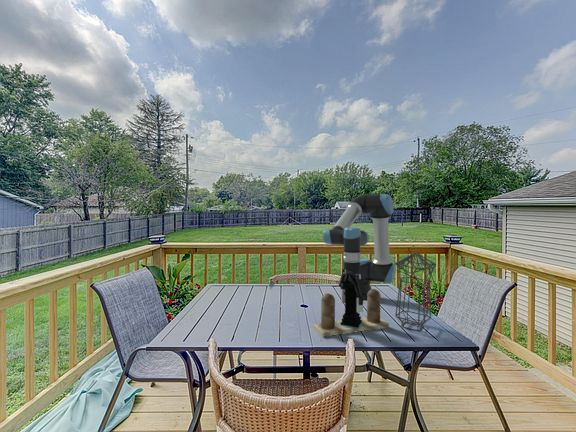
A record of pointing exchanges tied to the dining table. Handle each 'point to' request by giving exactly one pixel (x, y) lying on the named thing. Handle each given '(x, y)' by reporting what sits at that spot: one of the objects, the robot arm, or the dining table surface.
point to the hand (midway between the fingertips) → (351, 307)
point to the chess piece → (350, 306)
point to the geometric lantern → (419, 288)
